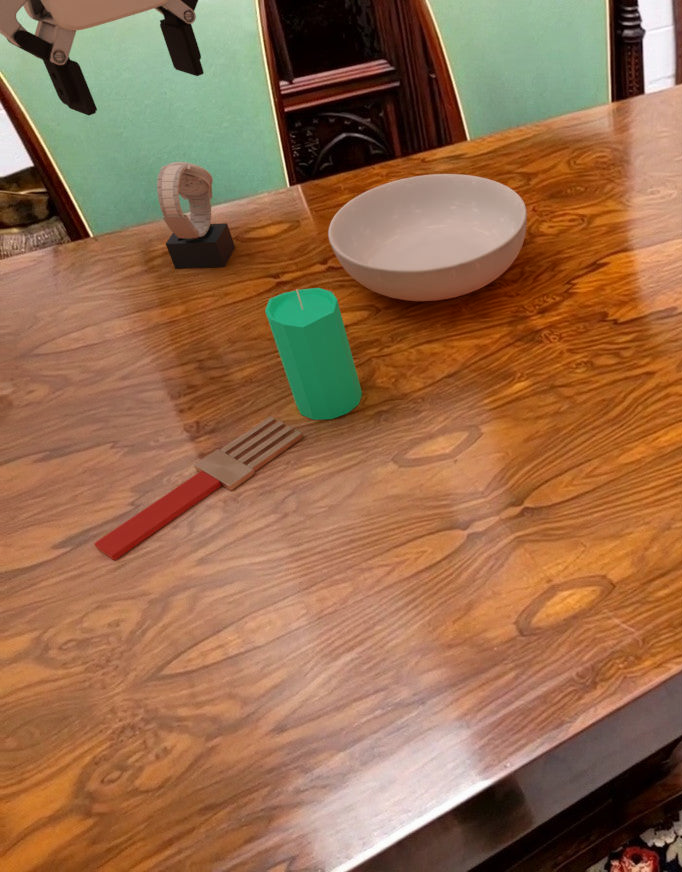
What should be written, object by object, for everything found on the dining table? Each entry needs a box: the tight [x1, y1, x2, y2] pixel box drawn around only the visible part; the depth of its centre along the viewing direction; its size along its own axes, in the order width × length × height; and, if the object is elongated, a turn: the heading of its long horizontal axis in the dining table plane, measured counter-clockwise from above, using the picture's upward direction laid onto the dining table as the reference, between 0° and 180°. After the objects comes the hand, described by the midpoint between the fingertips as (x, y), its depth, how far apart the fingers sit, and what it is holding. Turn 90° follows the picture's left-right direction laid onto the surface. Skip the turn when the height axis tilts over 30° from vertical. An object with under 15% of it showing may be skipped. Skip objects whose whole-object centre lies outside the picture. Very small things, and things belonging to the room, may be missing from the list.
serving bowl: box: [327, 173, 528, 302], centre depth 102 cm, size 21×21×7 cm
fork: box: [93, 415, 304, 561], centre depth 78 cm, size 18×5×1 cm, turn 146°
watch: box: [156, 161, 236, 269], centre depth 103 cm, size 6×8×11 cm
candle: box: [264, 287, 363, 421], centre depth 83 cm, size 6×6×12 cm
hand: (138, 90), depth 76 cm, fingers open, 9 cm apart
